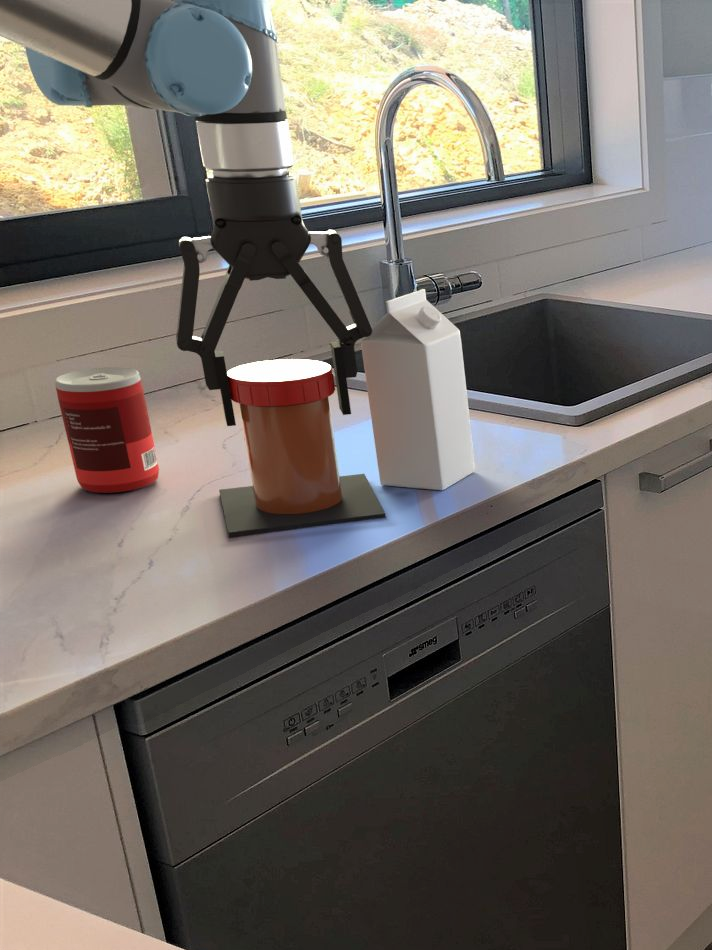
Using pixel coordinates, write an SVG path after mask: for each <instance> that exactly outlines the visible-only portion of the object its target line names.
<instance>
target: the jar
mask: <svg viewBox="0 0 712 950" xmlns="http://www.w3.org/2000/svg"><path fill="white" fill-rule="evenodd" d="M238 407H239V413H240V418H241V425H242V431H243V435H244V436H243V437H244V442H245V443H244V444H245V448H246V455H247V462H248V469H249V473H250V480H251V486H253V492H254V498H255V504H256V507H257V508H258V509H259V510H261V511H264V512H267V513H273V514H301V513H309V512H315V511H320V510H323V509H327V508H330V507H332V506H334V505H336V504H338V503H339V502H340V501H341V500H342V498H343V497H342V490H341V483H340V476H341V475H340V469H339V462H338V455H337V449H336V440H335V434H334V426H333V419H332V410H331V405H330V396H329V397H326V398H324V399H321V400H317V401H313V402H309V403H303V404H296V405H286V406H252V405H244V404H240V403H238Z"/></svg>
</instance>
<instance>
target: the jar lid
mask: <svg viewBox="0 0 712 950" xmlns="http://www.w3.org/2000/svg"><path fill="white" fill-rule="evenodd" d="M332 369H333V367H332V365H330V364H329V363H327V362H324V361H319V360H314V359H313V360H312V359H299V358H298V359H297V358H296V359H295V358H294V359H293V358H291V359H288V358H287V359H286V358H285V359H273V360H272V359H271V360H263V361H255V362H250V363H246V364H241V365H238V366H236V367H232V368H231V369H229V370H228V371H227V377H228V382H229V388H230V394H231V400H232V402H234V403H237V404H239V403H240V404H244V405H252V406H286V405H296V404H303V403H309V402H313V401H317V400H321V399H324V398H326V397H329V398H330V397H331V396H332V395H334V393H335V391H336V383H335V376H334V373H333V370H332Z"/></svg>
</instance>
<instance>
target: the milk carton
mask: <svg viewBox="0 0 712 950" xmlns="http://www.w3.org/2000/svg"><path fill="white" fill-rule="evenodd" d="M426 293H427V292H426V289H425V288H423V289H419V290H417V291H413V292H411V293H407V294H404V295H401V296H398V297H395V298H392V299H389V300H386V301H385V304H386V313H385V314H384V315H383V317H382V318H381V319H380V320H379V321H378V322H377V323H376V324H375V325H374V326H373V327H371V328H372V334H371V335H370V336H369V337H363V338H361V339H360V346H361V354H362V362H363V369H364V375H365V376H364V377H365V383H366V391H367V397H368V403H369V411H370V419H371V425H372V433H373V440H374V447H375V454H376V455H375V456H376V461H377V463H376V464H377V470H378V477H379V483H380V486H389V487H398V488H410V489H411V488H412V489H423V490H433V491H434V490H435V491H444V490H446V489H448V488H449V487H451V486H453V485H454V484H456V483H457V482H459V481H461V480H463V479H465V478H466V477H467V476H469V475H471V474H473V473H474V472H476V463H475V455H474V445H473V437H472V429H471V427H472V426H471V418H470V410H469V408H470V407H469V399H468V391H467V382H466V381H467V380H466V373H465V364H464V363H465V362H464V354H463V344H462V337H461V331H460V329H459V328H458V327H457V326H456V325H455V324H454V323H452V322H451V320H450V319H448V318H447V317H446V316H445V315H444V314H443V313H442V312H440V311H439V310H438V309H437V308H436V307H435V306H434V305H433V304H432V303H431V302H430V301H429V300H428V299H427V294H426Z"/></svg>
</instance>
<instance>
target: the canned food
mask: <svg viewBox="0 0 712 950" xmlns="http://www.w3.org/2000/svg"><path fill="white" fill-rule="evenodd" d="M54 382H55V384H54V385H55V390H56V391H55V392H56V395H57V400H58V404H59V409H60V413H61V418H62V421H63V426H64V431H65V435H66V438H67V439H66V440H67V442H68V447H69V452H70V456H71V460H72V464H73V468H74V469H73V470H74V472H75V477H76V481H77V482H78V484H79V486H80V487H81V489H83V490H85V491H87V492H91V493H98V494H99V493H100V494H102V493H103V494H110V493H111V494H113V493H123V492H128V491H134V490H138V489H142V488H146V487H148V486H151V485H152V484H154V483H155V482H156V481H157V480H158V479H159V473H160V466H159V462H158V461H159V460H158V457H157V451H156V446H155V441H154V436H153V431H152V427H151V421H150V417H149V412H148V406H147V401H146V396H145V390H144V387H143V382H142V378H141V376H140V372H139V370H136V369H134V368H128V367H120V366H119V367H118V366H117V367H116V366H115V367H114V366H113V367H112V366H108V367H107V366H105V367H93V368H86V369H79V370H74V371H70V372H68V373H63V374H62V375H59V376H58V377H56V378H55V379H54Z"/></svg>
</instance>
